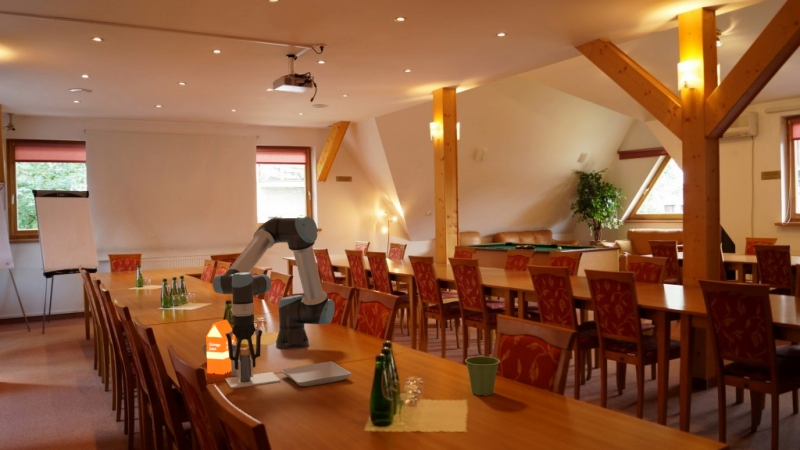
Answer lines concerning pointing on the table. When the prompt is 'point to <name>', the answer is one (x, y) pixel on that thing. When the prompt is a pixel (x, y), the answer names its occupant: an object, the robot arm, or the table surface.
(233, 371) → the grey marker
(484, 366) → the plant pot
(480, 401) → the table surface
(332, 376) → the salad plate
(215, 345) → the orange juice
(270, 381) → the paper
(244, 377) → the marker
